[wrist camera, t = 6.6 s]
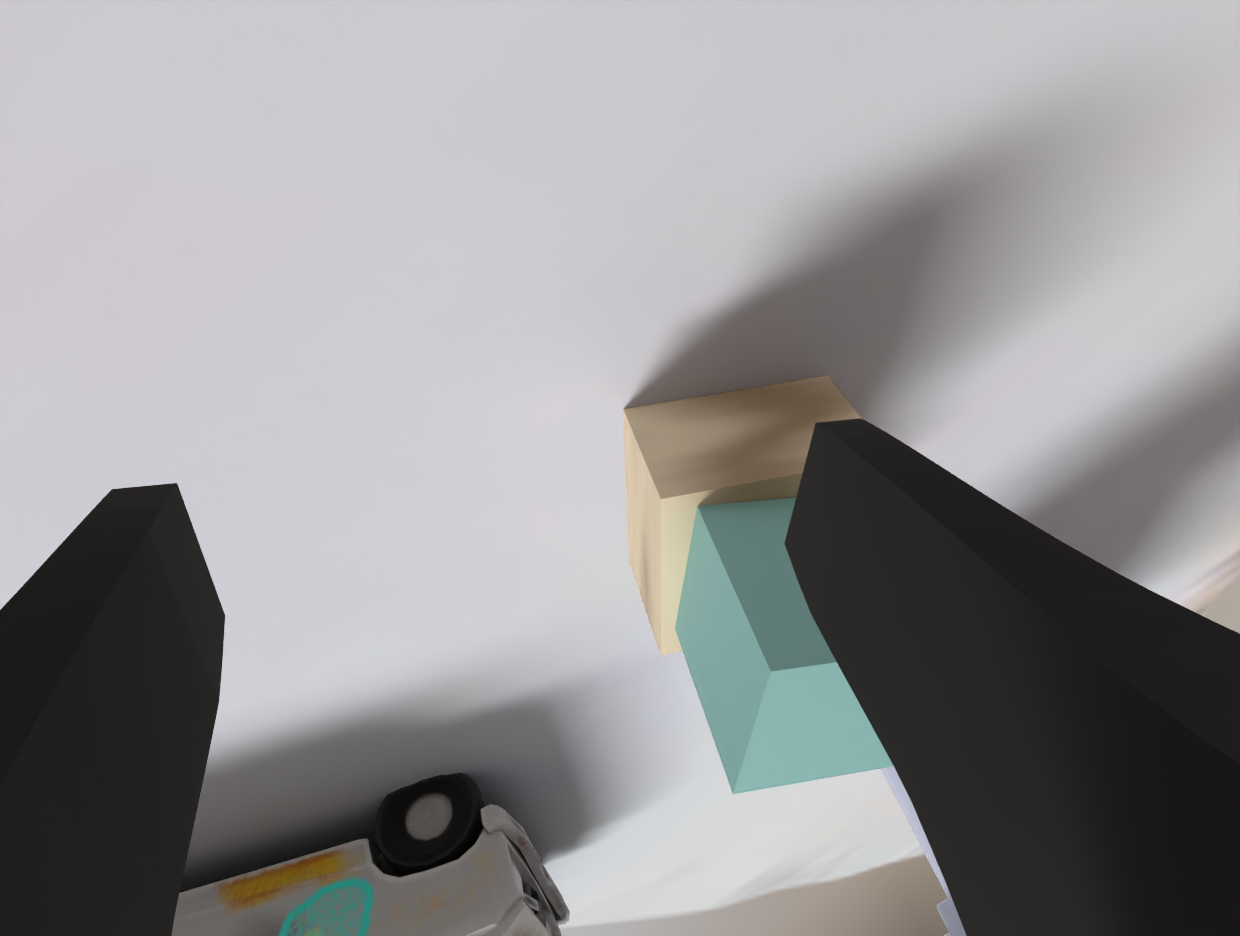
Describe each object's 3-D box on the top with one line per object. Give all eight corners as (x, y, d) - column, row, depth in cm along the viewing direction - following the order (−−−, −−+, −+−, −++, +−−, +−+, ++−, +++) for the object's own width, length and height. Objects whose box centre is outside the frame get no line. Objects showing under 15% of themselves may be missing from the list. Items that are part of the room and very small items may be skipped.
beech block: (825, 371, 23) (892, 456, 20) (802, 523, 27) (856, 613, 24) (621, 405, 22) (660, 499, 19) (627, 557, 26) (661, 655, 23)
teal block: (864, 491, 21) (971, 643, 17) (823, 609, 24) (907, 763, 20) (697, 506, 20) (770, 671, 16) (674, 628, 23) (733, 794, 19)
